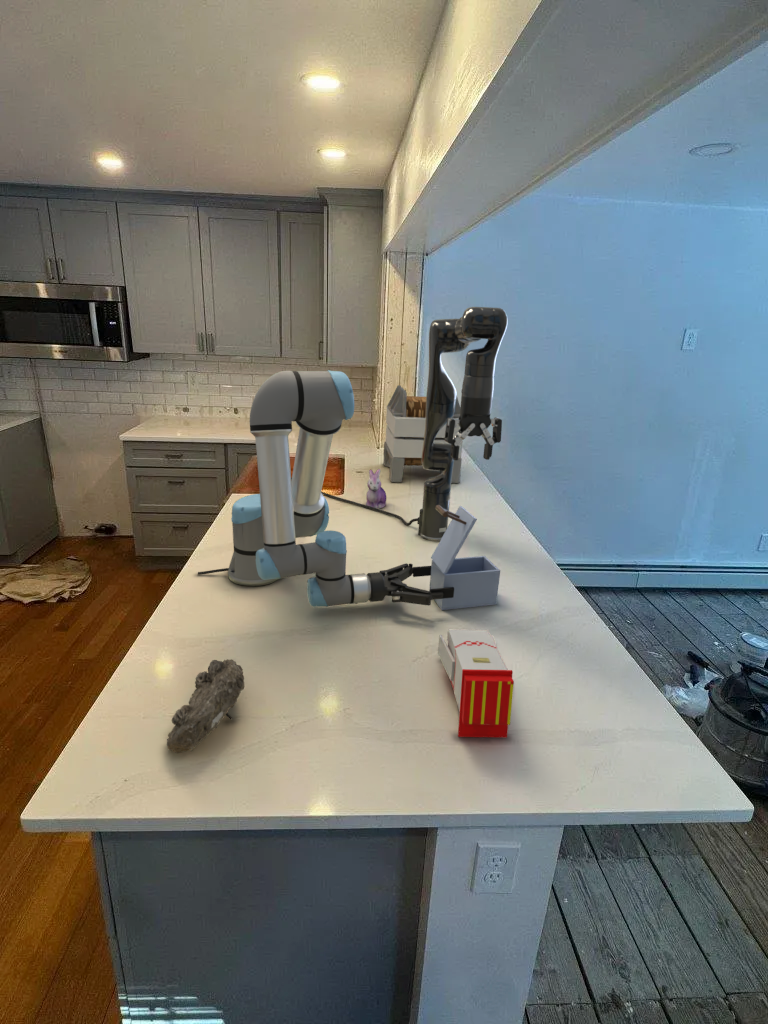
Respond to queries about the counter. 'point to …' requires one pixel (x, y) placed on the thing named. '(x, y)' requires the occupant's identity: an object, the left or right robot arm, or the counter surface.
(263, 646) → the counter surface
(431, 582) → the chest
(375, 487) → the figurine
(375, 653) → the counter surface
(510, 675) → the toy
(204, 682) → the fossil
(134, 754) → the counter surface
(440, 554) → the lid
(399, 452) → the grey slatted crate
